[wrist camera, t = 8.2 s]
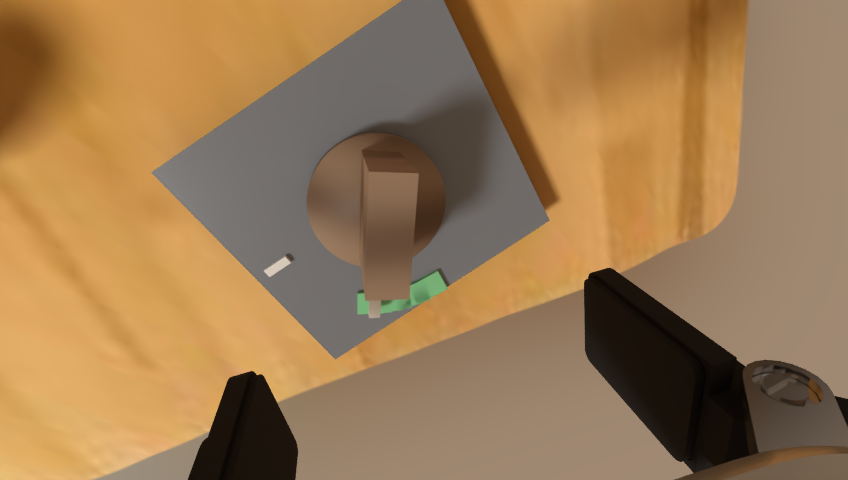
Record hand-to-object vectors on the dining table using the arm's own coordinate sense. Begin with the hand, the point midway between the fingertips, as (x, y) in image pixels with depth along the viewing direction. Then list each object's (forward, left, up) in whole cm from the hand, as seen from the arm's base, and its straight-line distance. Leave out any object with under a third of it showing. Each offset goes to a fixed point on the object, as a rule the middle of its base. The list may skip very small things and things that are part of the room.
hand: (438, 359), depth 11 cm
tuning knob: (+1, +2, -17) cm, 17 cm away
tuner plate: (0, 0, -19) cm, 19 cm away
